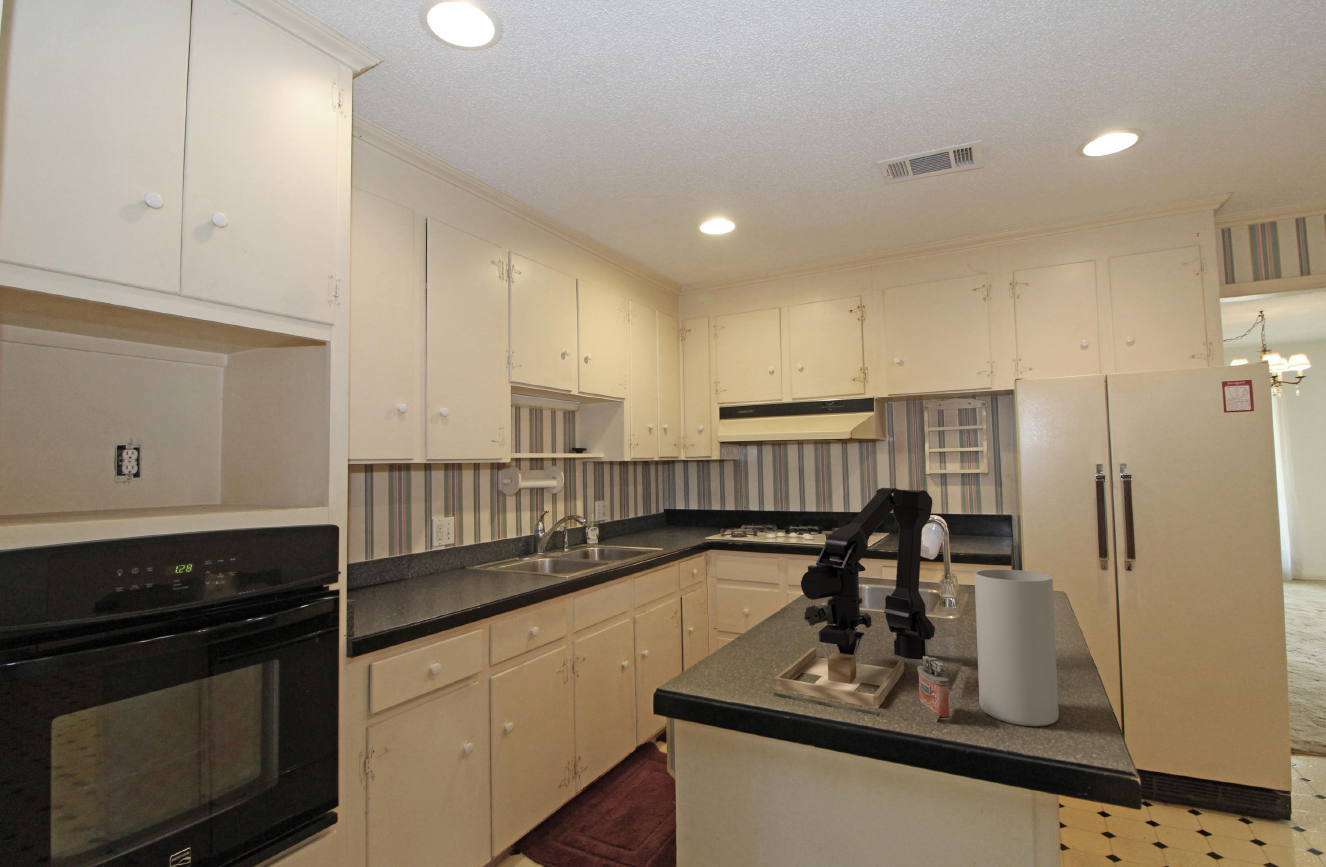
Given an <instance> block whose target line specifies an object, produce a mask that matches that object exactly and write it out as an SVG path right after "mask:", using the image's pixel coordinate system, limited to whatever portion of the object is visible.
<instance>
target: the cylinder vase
mask: <svg viewBox="0 0 1326 867" xmlns="http://www.w3.org/2000/svg"><path fill="white" fill-rule="evenodd" d="M1053 580H1054V579H1053V576H1051V575H1049V574H1046V573H1041V572H1036V571H1028V570H1019V569H1005V568H1004V569H1003V568H1001V569H997V568H996V569H994V568H990V569H980V570H976V571H974V592H975V593H974V595H975V597H974V598H975V617H976V618H975V620H976V621H975V623H976V646H977V670H978V671H977V672H978V674H977V675H978V697H979V699H978V700H979V707H980V708H981V710H982V711H983V712H984V713H985V714H986V715H988V716H990V717H992V718H994V719H996V720H999V721H1001V722H1005V723H1009V724H1014V725H1018V726H1025V727H1045V726H1049V725H1053V724H1054V723H1057V721H1058V720H1059V717H1060V716H1059V715H1060V714H1059V713H1060V712H1059V695H1058V694H1059V691H1058V672H1057V652H1056V651H1057V650H1056V647H1057V646H1056V645H1057V644H1056V630H1055V626H1056V624H1055V605H1054V585H1053V583H1054V582H1053Z"/></svg>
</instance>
